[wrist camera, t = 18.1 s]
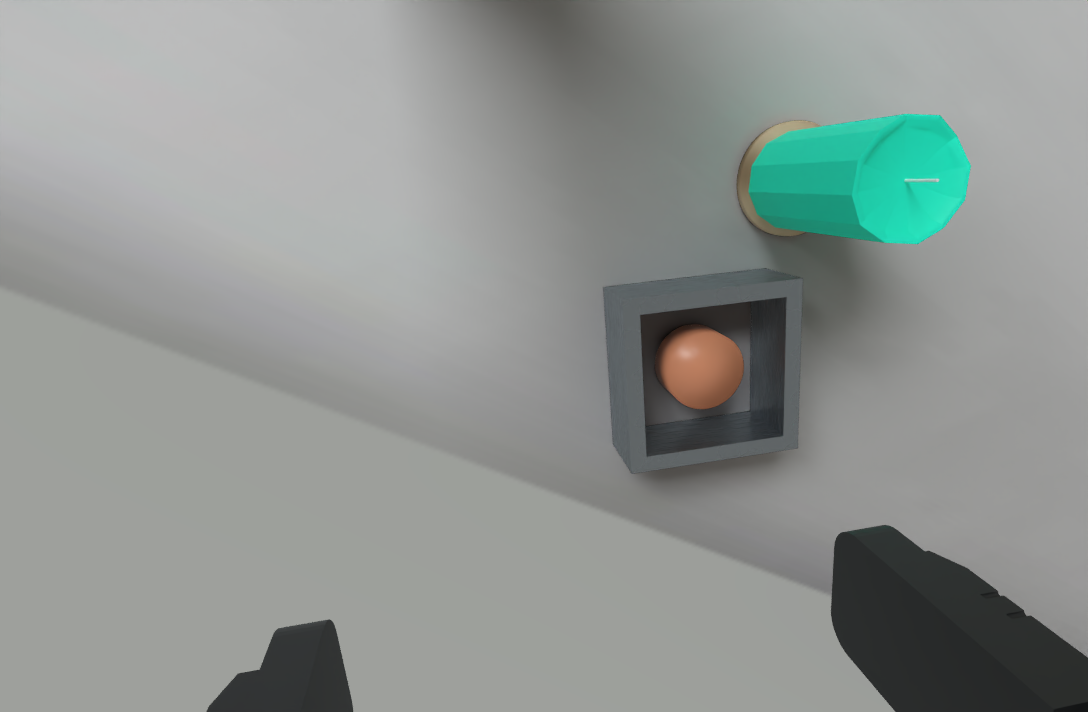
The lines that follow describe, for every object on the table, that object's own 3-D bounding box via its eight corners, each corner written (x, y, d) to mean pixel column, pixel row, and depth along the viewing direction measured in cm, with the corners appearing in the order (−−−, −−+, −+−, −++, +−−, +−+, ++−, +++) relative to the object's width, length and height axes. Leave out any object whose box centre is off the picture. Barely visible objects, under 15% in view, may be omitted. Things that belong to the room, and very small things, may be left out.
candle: (840, 217, 40) (998, 231, 28) (754, 239, 39) (879, 262, 28) (833, 120, 38) (999, 94, 27) (742, 142, 38) (871, 124, 26)
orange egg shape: (653, 328, 40) (666, 338, 38) (726, 319, 41) (743, 328, 38) (656, 400, 41) (669, 414, 39) (726, 391, 42) (743, 403, 40)
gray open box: (603, 287, 39) (622, 299, 35) (765, 268, 41) (803, 278, 36) (613, 444, 42) (631, 473, 38) (763, 422, 44) (797, 448, 39)
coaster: (736, 126, 38) (741, 125, 37) (842, 116, 39) (848, 115, 38) (736, 240, 40) (741, 241, 39) (837, 229, 41) (842, 230, 40)
